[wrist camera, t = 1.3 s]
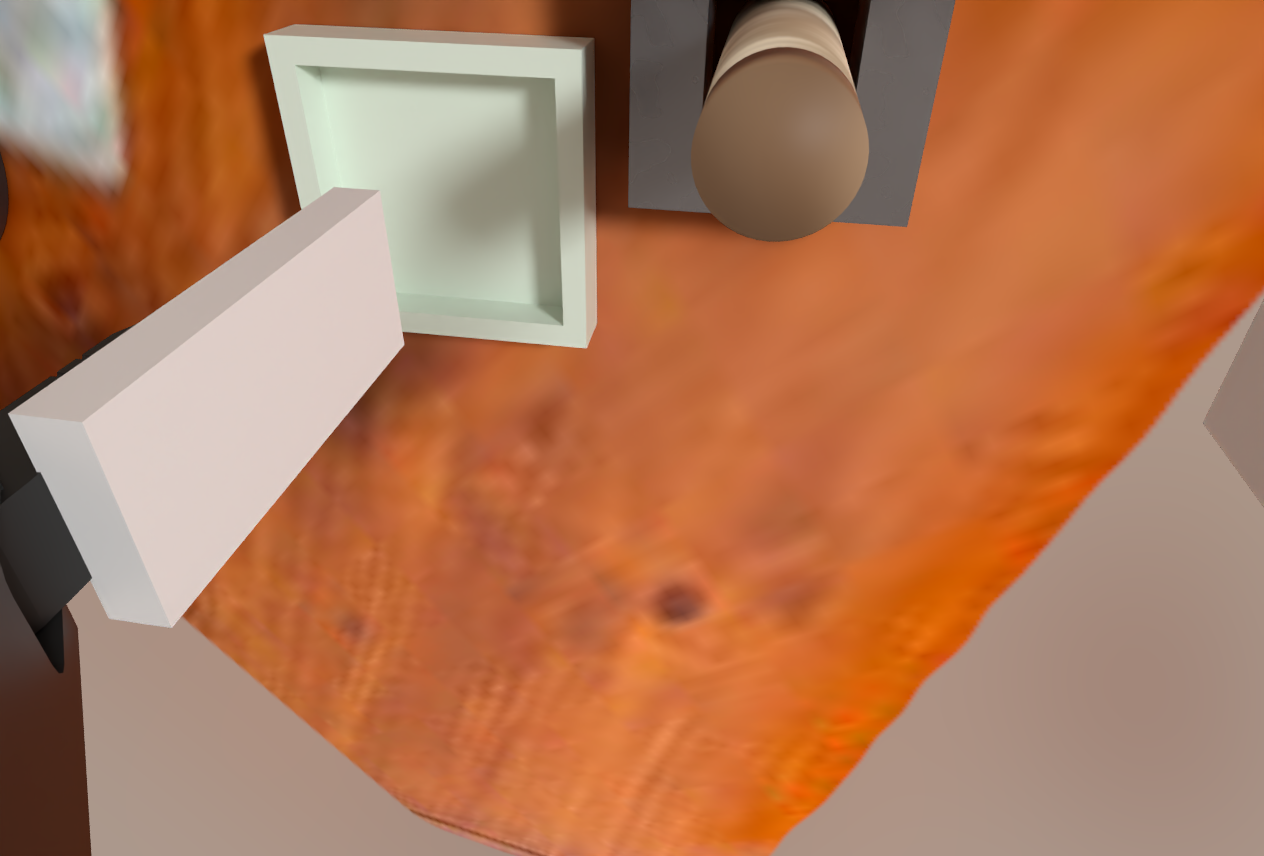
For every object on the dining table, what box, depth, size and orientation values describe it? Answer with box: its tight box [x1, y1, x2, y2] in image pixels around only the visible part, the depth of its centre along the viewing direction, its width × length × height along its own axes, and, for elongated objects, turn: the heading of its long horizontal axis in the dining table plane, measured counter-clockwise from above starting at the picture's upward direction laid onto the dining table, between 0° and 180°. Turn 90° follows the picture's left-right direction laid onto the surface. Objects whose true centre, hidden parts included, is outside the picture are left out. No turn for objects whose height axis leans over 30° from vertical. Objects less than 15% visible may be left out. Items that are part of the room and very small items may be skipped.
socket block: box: [628, 0, 955, 227], centre depth 29 cm, size 10×10×4 cm
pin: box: [691, 0, 869, 242], centre depth 25 cm, size 4×4×14 cm
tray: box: [264, 24, 597, 348], centre depth 34 cm, size 12×12×2 cm
